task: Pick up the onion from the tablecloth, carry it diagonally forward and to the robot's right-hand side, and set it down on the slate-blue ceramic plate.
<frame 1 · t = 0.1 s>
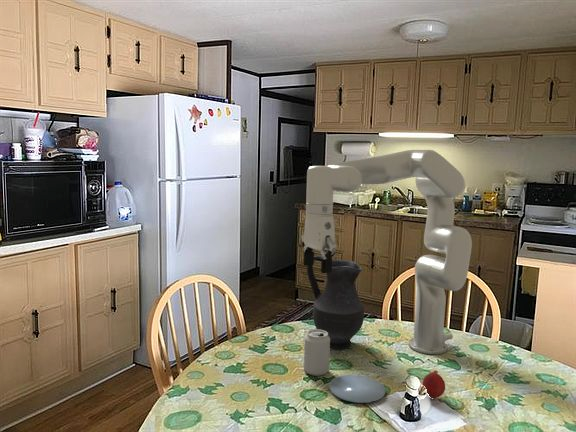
hand: (317, 268, 138), 31 cm above the table, tool pointing down, fingers open, 9 cm apart
onion: (432, 399, 128), on the table
plate: (357, 390, 131), on the table
pitcher: (332, 344, 164), on the table
can: (316, 372, 142), on the table
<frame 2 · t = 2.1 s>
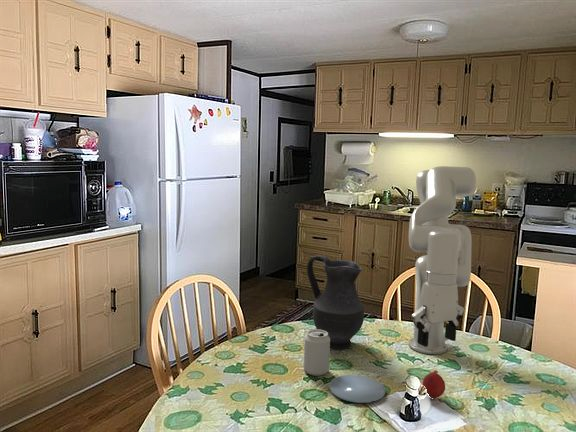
hand: (436, 342, 126), 16 cm above the table, tool pointing down, fingers open, 9 cm apart
nothing on the table moved.
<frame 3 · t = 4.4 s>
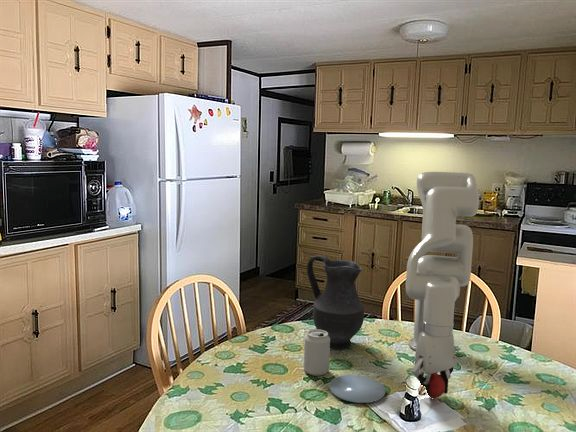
hand: (433, 393, 128), 2 cm above the table, tool pointing down, fingers closed on onion, 5 cm apart
onion: (432, 399, 128), on the table, touching gripper
everything else where it was.
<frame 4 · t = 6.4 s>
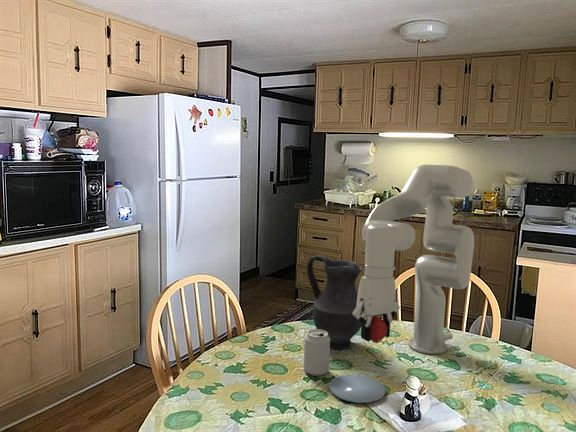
hand: (375, 337, 128), 16 cm above the table, tool pointing down, fingers closed on onion, 5 cm apart
onion: (375, 343, 128), point 14 cm above the table, touching gripper
everything else where it was.
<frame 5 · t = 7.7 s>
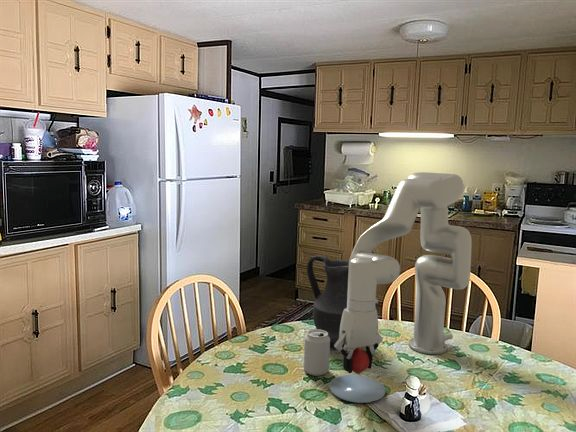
hand: (357, 368, 130), 7 cm above the table, tool pointing down, fingers closed on onion, 5 cm apart
onion: (357, 374, 130), point 5 cm above the table, touching gripper
everything else where it was.
when the fingers open (4 cm above the table, at t = 8.9 s): onion stays where it is, resting on plate.
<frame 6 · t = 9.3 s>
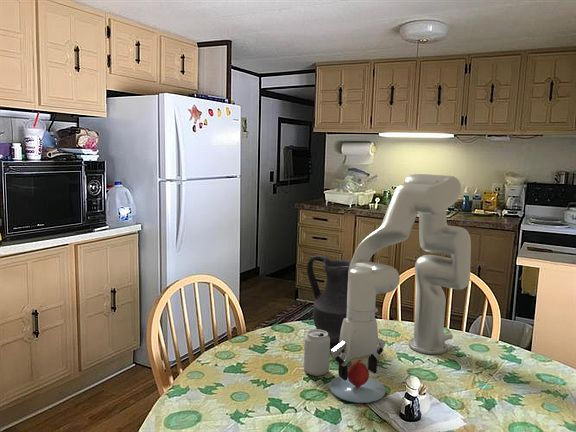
hand: (357, 374, 130), 5 cm above the table, tool pointing down, fingers open, 9 cm apart
onion: (357, 387, 131), point 1 cm above the table, touching plate
everything else where it was.
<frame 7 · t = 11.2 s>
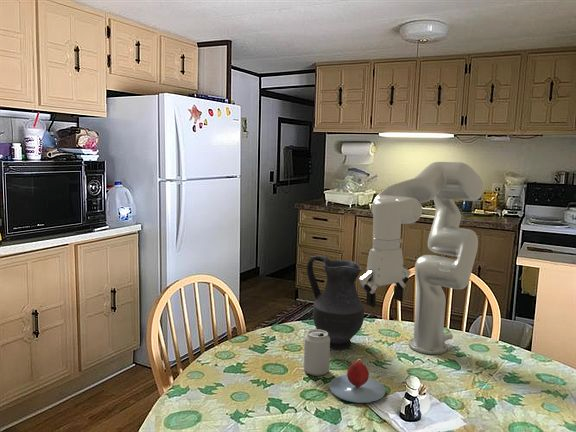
hand: (384, 302, 136), 22 cm above the table, tool pointing down, fingers open, 9 cm apart
nothing on the table moved.
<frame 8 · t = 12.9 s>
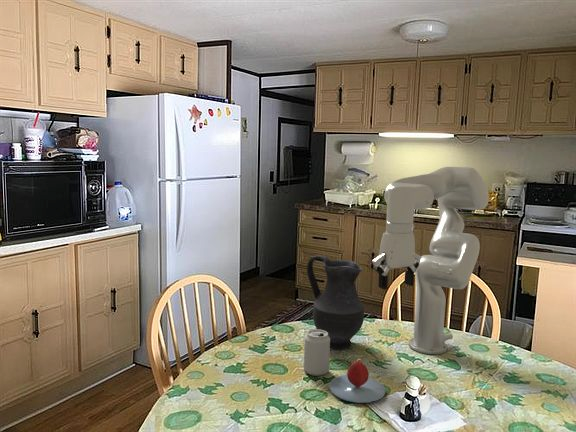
hand: (396, 286, 139), 26 cm above the table, tool pointing down, fingers open, 9 cm apart
nothing on the table moved.
at the end: onion inside the target area on the plate (0.0 cm from its centre), point 0.9 cm above the plate's base; the gripper is holding nothing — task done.
